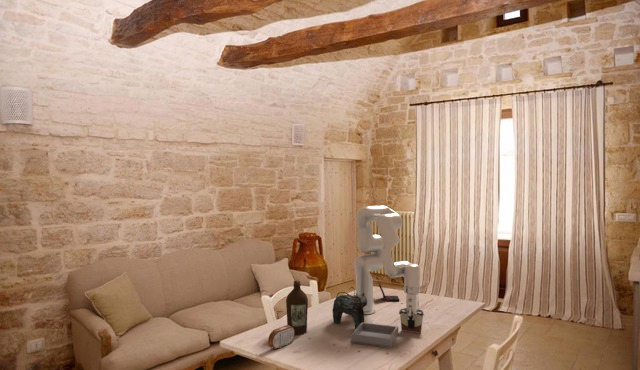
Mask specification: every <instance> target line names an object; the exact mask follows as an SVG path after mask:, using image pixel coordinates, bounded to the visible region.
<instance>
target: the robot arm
mask: <svg viewBox="0 0 640 370" xmlns="http://www.w3.org/2000/svg"><path fill="white" fill-rule="evenodd" d="M355 218H356V224H357V225H356V227H357V242H356V243H357V244H356V247H357V251H359V252H360V253H363V254H360V255H358V256H357V257H355V259H354V260H353V261H354V262H353V267H354V271H355V294H356V293H358V295H362V294H363V293H364V294H365V297H366V298H367V305H366V306H365V307H363V311H364V315H372V314H376V312H377V311H376V308H375V307H374V281H373V276H372V274H371V272H375V271H379V270H381V269H384V272H385V274H386V275H387V276H388V277H389V278H391V279H396V278H401V277H403V281H404V282H403V283H404V284H403V285H404V287H403V288H404V289H403V291H404V293H405V294H406V296H405V299H406V302H405V304H406V305H405V308H406V312H407V314H408V328H413V329H414V328H415V320H414V314H415V315H416V314H417V313H418V311H419V310H420V298H419V297H420V296H419V294H420V293H421V271H420V270H421V268H420V265H419V264H417V263H412V262H409V261H408V260H401V261H395V262H394V261H393V258H392V250H393V248H394V247H395V246H397V245H398V244H400V242H401V240H400V237H399V234H398V231H397V230H399V229H401V228H402V226H403V218H402V216H401V215H400V214H399V213H398V212H396V211H395V210H393V209H392V208H390V207H388V206H386V205H368V206H363V207H360V208H359V209H358V210H357V212H356V217H355ZM371 222H376V224H377V225H376V226H377V228H378V230H379V231H378V232H379V234H380V235H379V234H373V233H374V229H373V225H372V223H371ZM365 253H366V254H365ZM368 253H369V254H368ZM412 312H413V314H412ZM412 315H413V316H412Z"/></svg>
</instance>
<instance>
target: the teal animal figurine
mask: <svg viewBox="0 0 640 370" xmlns="http://www.w3.org/2000/svg"><path fill="white" fill-rule="evenodd" d="M351 289H353V292H354V293H353V295H352V294H349V293H347V292H345V291H341V292H338V293H337V294H336V298H335V299H334V301H333V304H332V305H333V306H332V320H333V321H332V322H333V323H334V324H336V325H338V324H341V323H342V317H343V314H345V315H348V316H351V317H352V319H353V322H354V329H356V328H357V327H358V326H359V325H360V324H361V323H362V322H363V323H365V314H364V311H363V307H365V306H366V305H367V298H366V297H365V294H364V293H363V294H362V295H358V293H356V288H354V287H353V286H351V287H350V288H349V290H351ZM342 293H343V294H342ZM340 294H341V295H340Z"/></svg>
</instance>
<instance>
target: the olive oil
mask: <svg viewBox="0 0 640 370" xmlns="http://www.w3.org/2000/svg"><path fill="white" fill-rule="evenodd" d="M285 304H286V323H287V324H286V325H289V326H291V327H293V328H294V330H295V335H294V336H302V335H304V333H305V334H306V333H308V331H307V330H308V307H309V306H308V305H309V299H308V295H307V294H306V293H305V292H304V291H303V290H302V287H301V280H299V279H296V280H295V279H294V280H293V289H292V290H291V291H290V292H289V293H288V294H287V296H286V300H285ZM301 334H302V335H301Z"/></svg>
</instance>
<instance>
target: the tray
mask: <svg viewBox="0 0 640 370" xmlns="http://www.w3.org/2000/svg"><path fill="white" fill-rule="evenodd" d="M354 329H355V328H354ZM398 336H399V326H397V325H389V324H379V323H373V322H372V323H371V322H364V323H363V322H362V323H361V324H360V325H359V326H358V327H357V328H356V329H355V330H354V331H353V332H352V333H351V335H350V342H351V344H355V345H356V344H357V345H362V346H371V347H377V348H378V347H379V348H386V349H391V348H392V346H393V345H394V343H395V342H396V339H397V338H398Z"/></svg>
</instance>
